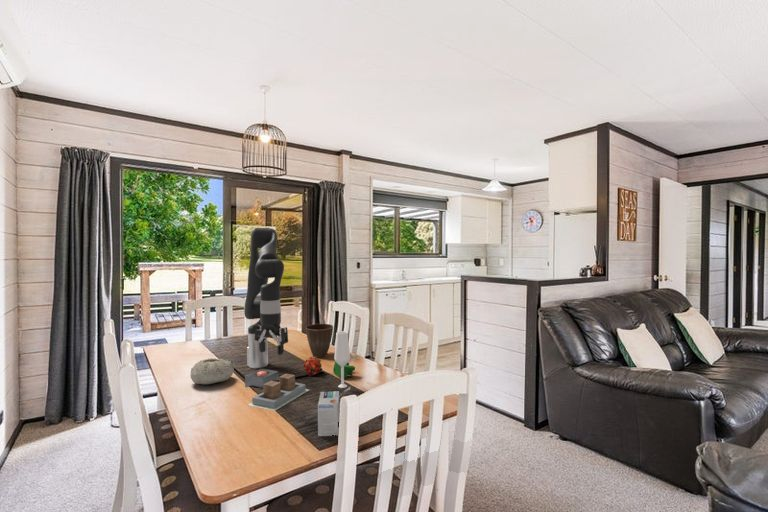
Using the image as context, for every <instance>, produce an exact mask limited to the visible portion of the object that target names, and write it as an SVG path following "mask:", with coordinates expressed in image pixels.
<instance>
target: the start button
mask: <svg viewBox="0 0 768 512" xmlns="http://www.w3.org/2000/svg"><path fill="white" fill-rule="evenodd" d="M266 374H267V372H266V371H260V372H257V375H260V376H263V375H266Z"/></svg>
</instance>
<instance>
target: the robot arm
mask: <svg viewBox="0 0 768 512" xmlns="http://www.w3.org/2000/svg"><path fill="white" fill-rule="evenodd" d="M277 249H278V233H277V231H276V230H275V229H274V228H267V227H254V228H252V229H251V233H250V252H249V253H250V254H249V255H250V259H249V266H248V271H247V272H248V274H247V275H248V276H247V290H246V296H245V297H246V298H245V302H244V309H243V312H244V317H245V319H247V320H257V319H258V321H256V322H255V323H253V324H250V326H248V328H247V337H248V338H247V339H248V343H247V344H248V346H247V347H246V360H247V361H246V363H247V367H249V368H251V369H263V368H265V367H267V366H268V365H269V356H268V355H269V353H268V351H269V349H268V343H269V342H268V338H269V339H273V340H274V341H275V343H276V344H277V355H278V356H281V355H283V353H284V352H285V351H284V346H285V345H284V344H288V343H289V335H288V334H289V333H288V327H281V322H282V313H281V312H282V309H281V306H282V305H281V300H280V299H281V295H280V291H281V289H280V288H281V283H282V277H283V275H284V271H285V265H284V262H283V260H281V259H279V258H278V256H277V255H278V254H277ZM272 278H273V281H272V282H268V281H269V279H272ZM259 294H260V299H256V298H257V296H258V295H259Z"/></svg>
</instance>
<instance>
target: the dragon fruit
mask: <svg viewBox="0 0 768 512" xmlns="http://www.w3.org/2000/svg"><path fill="white" fill-rule="evenodd" d="M302 368H303V370H304V372H305V374H306V375H308V377H313V376H315V375H319V373H320V372H322V371H323V367H322V363H321V359H320V358H318V357H314V356H310V357H309V358H308V359H306V360H305V361H304V363H303V367H302Z"/></svg>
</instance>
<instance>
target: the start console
mask: <svg viewBox="0 0 768 512" xmlns="http://www.w3.org/2000/svg"><path fill="white" fill-rule="evenodd" d="M260 371H266V372H267V374H266V375H263V376H260V375H257V372H260ZM279 377H280V376H279V371H278V370H272V369H267V368H258V369H257V370H254V371H252V372H250V373H248V374H245V375H244V387H245V388H249V387H256V388H261V389H263V384H265V383H268V382H270V381H276V382H279Z"/></svg>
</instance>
